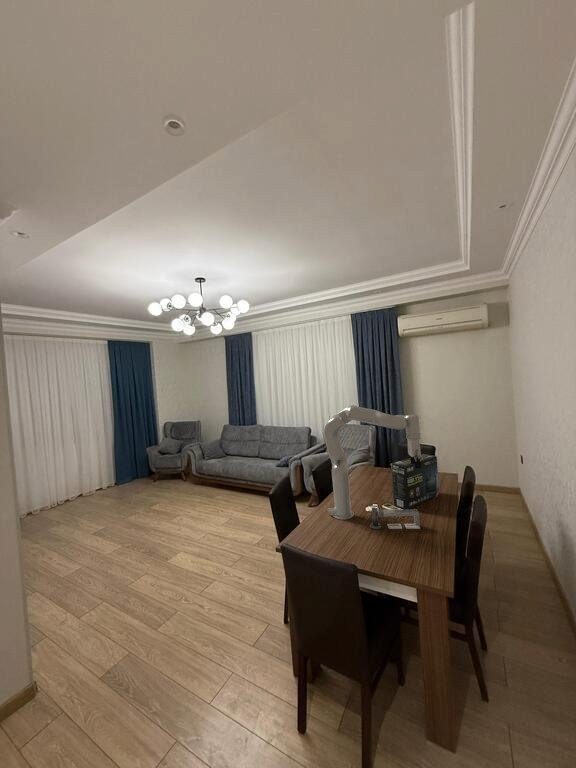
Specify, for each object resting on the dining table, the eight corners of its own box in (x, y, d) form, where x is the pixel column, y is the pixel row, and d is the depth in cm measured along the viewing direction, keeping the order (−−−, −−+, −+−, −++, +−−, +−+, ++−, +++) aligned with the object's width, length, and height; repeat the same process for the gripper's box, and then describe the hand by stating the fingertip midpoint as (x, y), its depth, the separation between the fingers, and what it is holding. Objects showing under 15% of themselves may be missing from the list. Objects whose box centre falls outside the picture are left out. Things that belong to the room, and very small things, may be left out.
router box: (408, 510, 183) (404, 466, 183) (392, 505, 192) (389, 463, 193) (441, 495, 203) (437, 455, 203) (425, 491, 212) (422, 453, 212)
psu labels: (388, 528, 162) (388, 527, 162) (387, 524, 167) (387, 523, 167) (420, 528, 160) (420, 527, 160) (417, 524, 165) (417, 523, 165)
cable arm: (380, 525, 163) (379, 512, 163) (379, 522, 168) (378, 509, 168) (420, 525, 160) (418, 512, 160) (417, 521, 164) (416, 508, 164)
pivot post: (370, 529, 163) (369, 510, 163) (369, 524, 169) (368, 506, 169) (382, 529, 162) (380, 510, 162) (380, 524, 168) (379, 506, 168)
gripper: (403, 434, 185) (405, 462, 184) (410, 439, 168) (413, 470, 167) (415, 433, 184) (418, 461, 183) (424, 438, 167) (427, 469, 166)
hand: (416, 465), depth 175 cm, fingers open, 9 cm apart
